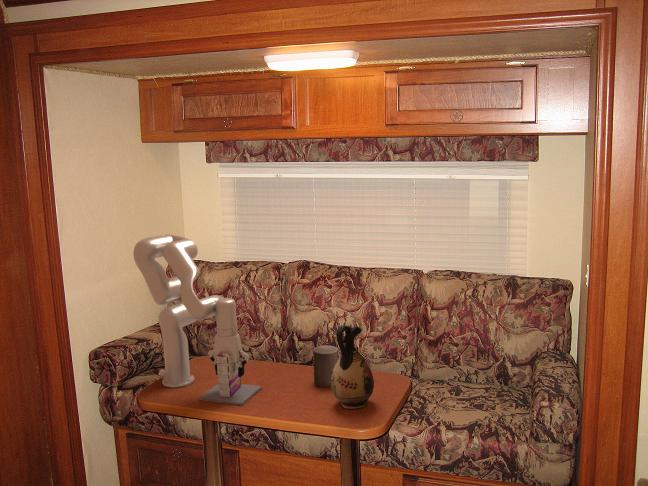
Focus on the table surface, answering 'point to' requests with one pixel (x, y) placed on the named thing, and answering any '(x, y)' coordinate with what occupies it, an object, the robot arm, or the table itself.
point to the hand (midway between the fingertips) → (229, 374)
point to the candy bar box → (227, 375)
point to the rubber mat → (237, 399)
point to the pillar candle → (324, 364)
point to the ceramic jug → (351, 372)
